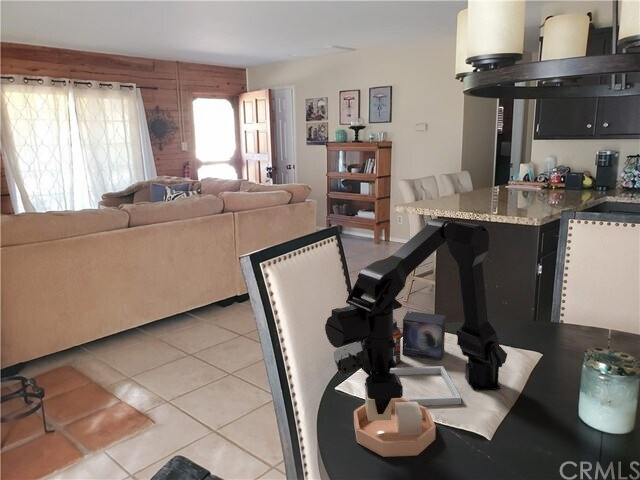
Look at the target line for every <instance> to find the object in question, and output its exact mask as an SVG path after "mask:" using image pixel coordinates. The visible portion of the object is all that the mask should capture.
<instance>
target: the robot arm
mask: <svg viewBox="0 0 640 480" xmlns="http://www.w3.org/2000/svg"><path fill="white" fill-rule="evenodd" d="M488 230H489V229H488V228H486V227H485V226H484V225H481V224H475V223H469V222H465V221H464V222H463V221H455V222H453V221H451V220H449V219H442V218H437V217H436V218H431V219H429V220H428V221H427V223H426V224H425V226H424V227H423V228H422V229H420V230H419V231H418V232H417V233H416V234H415V235H413V236H412V237H411V238H410V239H409V240H407V242H405V244H403V245H402V246H401V247H399V249H397V250H396V251H395V252H393V254H391V255H390V256H388V257H386V258H383V259H379V260H376V261H374V262H372V263H370V264H369V265H367V266H365V267H364V268H362V270H361V271H359V273H358V275H357V279H356V282H355V283H354V285H353V287H352V289H351V291H350V293H349V294H348V297H347V299H346V300H345V303H346V304H347V305H348V306H345V307H336V308H334V309H331V315H330V316H328V318H326V321H325V324H324V331H325V334H326V337H327V338H326V339H328V342H329V343H330V344H331V346H332V347H333V348H337V349H336V350H334V351H333V359H334V363H335V365H336V369H337V371H338V372H339V374H340V375H342V376H343V375H344V376H345V375H347V374H349V373H352V372H354V371H355V372H356V371H357V370H358V369H361V370H362V371H363V372H364V373H365V374H366V375H368V376H367V377H366V378H365V383H364V386H365V388H366V392H367V396H368V398H370V399H374V400H375V405H376V409H377V414H383V413H384V412H385V410H386V408H387V406H388V404H389V402H390V401H391V399H392V398H401V397H402V398H403V394H404V389H403V386H404V385H403V384H402V382H401V379H400V377H399V375H396V374H395V373H390V369H391V368H396V365H395V362H394V359H393V348H395V341H394V339H393V319H394V310H397V309H401V308H403V304H402V303H401V302H399V301H398V300H397V299H396V298H397V297H398V295H399V294H400V293H401V291H403V289H405V286H406V282H407V279H408V276H409V275H410V274H411V273H412V272H414V270H416V269H417V268H418V267H419V266H420V265H421V264H423V263H424V262H425V261H426V260H427V259H428V258H429V257H430V256H431V255H432V254H433V253H434V252H436V251H437V250H438V249H439V248H440V247H441V246H443V244H445V243H446V244H447V248H448V251H449V254H450V255H451V256H452V258H453V259H454V260H455V262H456V263H457V265H458V267H457V268H458V273H459V283H460V292H461V300H462V301H461V302H462V310H463V318H464V322H463V324H462V325H461V327H460V329H457V330H456V333H455V334H456V337H457V338H456V339H457V342H456V343H457V344H456V345H457V346H459V349H460V350H461V354H462V355H463V356H465V357H467V362H465V373H464V379H465V380H466V382H467V384H468V385H469V386H470V387H471V389H472V390H473V391H488V390H489V391H491V390H501V388H502V386H501V384H499V373H500V371H499V370H500V368H502V367H503V364H505V363H506V361H507V357H508V353H507V352H506V351H505V350H504V349H503V347H501V346H500V343H499V342H500V341H499V339H498V335H497V331H496V330H495V328H494V327H493V325H492V324H491V322H490V321H489V318H488V308H487V298H486V297H487V296H486V288H485V287H486V286H485V279H484V269H483V261H484V259H485V257H486V255H487V254H488V252H489V250H490V249H489V248H490V244H489V243H490V240H489V239H490V234H489V231H488ZM363 296H364V297H367V298H369V299H371V300H374V301H370V300H367V299H365V298H362V297H363Z"/></svg>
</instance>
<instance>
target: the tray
mask: <svg viewBox="0 0 640 480" xmlns="http://www.w3.org/2000/svg"><path fill="white" fill-rule="evenodd" d="M390 373H395V374H396V375H397V376H404V375H405V376H407V375H411V376H412V375H431V374H433V375H435V374H436V375H437V374H438V375H439V374H440V375H441V378H442V380H443V381H444V383H445V385H446V386H447V388H448V391H449V392H450V394H451V395H447V396H445V395H444V396H425V397H424V396H423V397H422V396H419V397H404V398H405V399H407V400H409V401H412V402H417V403H418V404H419V405H421V406H441V405H442V406H444V405H461V404H462V396H461V395H460V393H459V391H458V390H457V388H456V386H455V385H454V383H453V381H452V380H451V378H450V376H449V374H448V373H447V371H446V369H445V367H444V365H441V366H439V365H436V366H415V367H413V366H411V367H410V366H409V367H395V368H391V369H390Z"/></svg>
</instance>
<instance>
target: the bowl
mask: <svg viewBox="0 0 640 480" xmlns="http://www.w3.org/2000/svg"><path fill="white" fill-rule="evenodd" d="M405 398H406V397H403V396H402V397H401V398H392V399H391V420H379V421H368V418H367V413H366V408H365V403H363V404H362V405H361V406H359V407H357V408H356V409H355V410H353V427H354V431H355V439H356V443H358V445H359V444H360V446H363V447H364V448H367V449H368V450H370V451H372V452H373V453H376V454H378V455H379V456H382V457H383V458H385V457H409V456H418V455H419V454H421V453H422V452H423V451H424V450H425V449H427V447H429V446H430V445H431V444H432V443H433V442H434V441H435V440H436V428H437V427H436V424H435V422H434V419H433V417H432V415H431V413H430V410H429V408H428V407H427V406H426V407H425V405H422V406H421V405H419V404H418V405H419V408H420V411H421V413H422V435H409V436H399V435H398V432H397V428H396V425H395V402H412V401H409V400H407V399H405Z"/></svg>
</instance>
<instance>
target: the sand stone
mask: <svg viewBox="0 0 640 480" xmlns="http://www.w3.org/2000/svg"><path fill="white" fill-rule="evenodd" d="M364 390H365V391H364V392H365V393H364V397H365V403H364V404H365V408H366V413H367V418H368V421H379V420H391V401H390V402H389V404H388V406H387V408H386V410H385V412H384V413H383V414H377V409H376V405H375V400H374V399H370V398H368V396H367V392H366V387H365V388H364Z"/></svg>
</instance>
